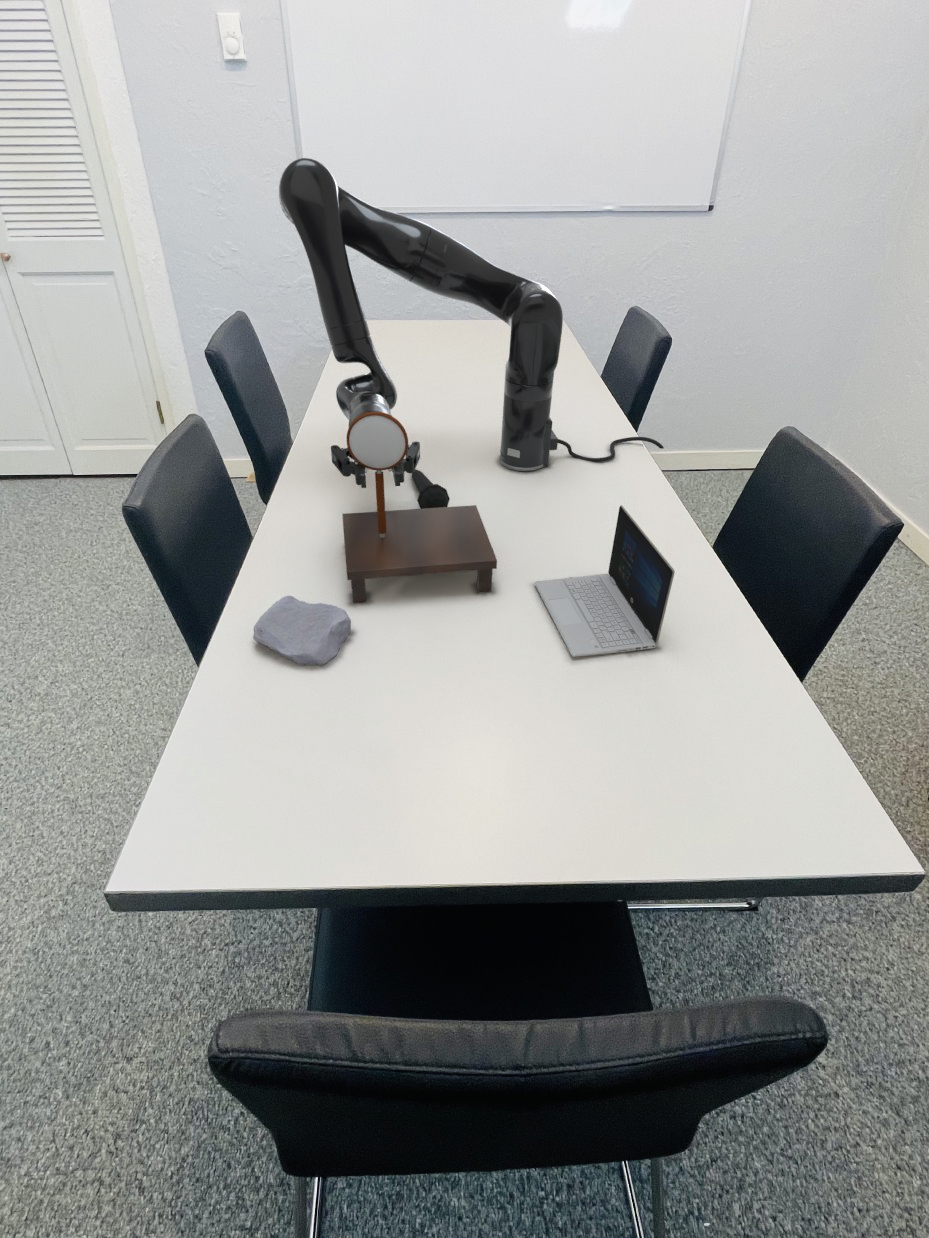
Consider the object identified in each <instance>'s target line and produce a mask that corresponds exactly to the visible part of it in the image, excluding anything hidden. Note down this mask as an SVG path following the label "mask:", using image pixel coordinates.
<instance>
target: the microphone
mask: <svg viewBox="0 0 929 1238" xmlns="http://www.w3.org/2000/svg"><path fill="white" fill-rule="evenodd" d="M411 480H412V481H413V484H414V485H415V488H416V490H417V493H418V497H417V503H418V506H419V509H424V508H440V507H449V503H450V496H449V493H448V491H447V488H445V487H443V486H441V485H440V484H438V483H433V482H432V481H431V480H430V479H429V478H428V477H427V475H425V473H423V472H422V471H421V470H419V469H416V468H415V471H414V472H413V473H411Z"/></svg>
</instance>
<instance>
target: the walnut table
mask: <svg viewBox="0 0 929 1238" xmlns="http://www.w3.org/2000/svg"><path fill="white" fill-rule="evenodd" d="M480 514H481V513H480V511H479V509H478V507H477V505H476V504H473V505H472V504H471V505H457V506H447V507H440V508H424V509H420V508H412V509H410V508H409V509H395V510H385V518H386V533H385V537H384V538H381V537H380V533H378V517H377V511H365V512H347V513H346V512H345V513H342V527H343V541H344V554H345V568H346V578H347V579H346V580H347V581H350V583H351V584H350V585H351V595H352V603H353V604H357V603H359V604H360V603H367V601H368V600H367V590H366V580H369V579H370V580H371V579H381V578H383V579H384V578H395V577H409V576H419V575H433V574H446V573H461V572H472V571H473V572H474V571H476V578H475V579H476V581H475V586H476V589H477V592H478V594H479V593H480V594H481V593H490V592H492V585H493V570H497V569H498V559H497V557H496V554H495V552H494V548H493V546H492V543H491V541H490V539H489V535H488V533H487V530H486V527H485V525H484V523H483V519H482V517H481V515H480Z"/></svg>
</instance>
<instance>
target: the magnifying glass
mask: <svg viewBox="0 0 929 1238" xmlns="http://www.w3.org/2000/svg"><path fill="white" fill-rule="evenodd" d="M391 415H392V414H391ZM391 415H389V414H386V413H383V412H368V413H364V414H362V415H360V416H359V417H357V418H356V419H355V420H354V421H353V422H352V423H351V425H350V427H349V426H348V429H347V432H346V446H347V447H348V450H349V452H350V454H351V455H352V457H353V458H354V459H355V460H356V461H357V462H358V463H359V464H360V465H362V466H364V467H366V468H368V469H369V470H372V471H375V472H374V479H375V496H376V497H375V498H376V512H377V517H378V533H380V537H381V538H384V537H385V533H386V518H385V511H386V502H385V483H384V482H385V481H384V478H385V477H384V471H388V469H391V468H393V467H395V466H397V465H398V464H399V463H400V462H401V461H402V460H403V459H405V458H406V453H407V450H408V445H409V436H408V433H407V430H406V429H405V427H404V426H403V424H402V423H401V422H400V421H399V420H398V419H397V418H396V417H394V416H393V415H392V416H391Z"/></svg>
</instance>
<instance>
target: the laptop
mask: <svg viewBox="0 0 929 1238" xmlns="http://www.w3.org/2000/svg"><path fill="white" fill-rule="evenodd" d="M617 514H618V515H617V519H616V526H615V531H614V536H613V541H612V548H611V554H610V559H609V564H608V565H609V566H608V573H602V574H601V573H600V574H593V575H584V576H576V577H565V578H557V579H546V580H538V581H535V582H534V587H536V590H537V591H538V593H539V595H540V597H541V599H542V601H543V603H544V605H545V607H546V609H547V611H548V613H549V615H550V616H551V619H552V620H553V622H554V624H555V626H556V628H557V630H558V632H559V634H560V636H561V637H562V640H563V642H564V643H565V646H566V647H567V649H568V651H569V653H570V655H571V657H575V658H576V657H586V656H595V655H604V654H615V653H625V652H632V651H640V650H641V651H642V650H649V649H655V648H657V646H656V644H659V640H660V636H661V631H662V627H663V623H664V619H665V614H666V611H667V606H668V603H669V598H670V593H671V590H672V585H673V581H674V578H675V577H674V576H675V569H674V567H673V566H671V564H670V563H669V561H668V560H667V559H666V558H665V557H664V555H663V554H662V552H660V550H659V549H658V548H657V547H656V545H655V544H654V543H653V542H652V540H651V539H650V538H649V537H648V535H646V533H645V532H644V530H642V528H641V527H640V525H639V524H638V523H637V522H636V521H635V520H634V518H633V516H631V514H630V513H629V512H628V511H627V509H625V507H624V506H623V505H620V506H619V509H618V513H617Z"/></svg>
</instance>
